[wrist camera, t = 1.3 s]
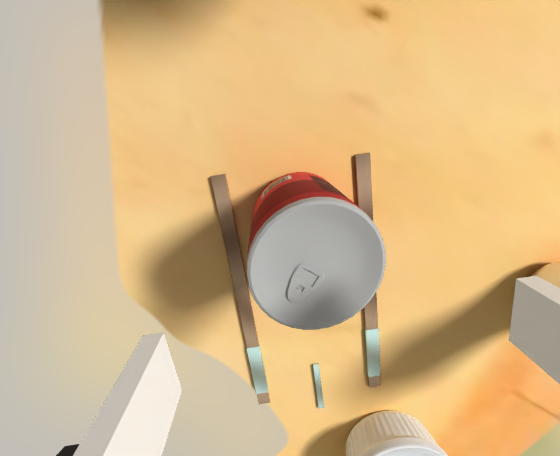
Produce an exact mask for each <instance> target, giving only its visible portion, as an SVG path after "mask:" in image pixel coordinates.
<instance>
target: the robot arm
mask: <svg viewBox="0 0 560 456" xmlns="http://www.w3.org/2000/svg"><path fill="white" fill-rule="evenodd" d="M509 341H510V342H512V343H513V344H514V345H515V346H516V347H517V348H519V349H520V350H521V351H522V352H523V353H524V354H525V355H527V356H528V357H529V358H530V359H531V360H532V361H534V362H535V363H536V364H537V365H538V366H539V367H540V368H542V369H543V370H544V371H545V372H546V373H547V374H549V375H550V376H551V377H552V378H553V379H554V380H555V381H557V382H558V383H559V384H560V288H559V287H557V286H555V285H553V284H551V283H549V282H548V281H546V280H544V279H542V278H540V277H538V276H531V277H524V278H517V279H516V284H515V292H514V301H513V309H512V318H511V326H510V335H509ZM181 392H182V389H181V386H180V382H179V379H178V376H177V373H176V370H175V367H174V363H173V360H172V357H171V354H170V351H169V348H168V345H167V341H166V338H165V335H164V333H157V334H151V335H144V336H143V337H142V338H141V340H140V342H139V343H138V345H137V347H136V349H135V350H134V352H133V354H132V355H131V357H130V359H129V361H128V362H127V364H126V366H125V367H124V369H123V371H122V373H121V374H120V376H119V378H118V380H117V381H116V383H115V385H114V386H113V388H112V390H111V391H110V393H109V395H108V396H107V398H106V400H105V402H104V403H103V405H102V407H101V409H100V410H99V412H98V414H97V415H96V417H95V419H94V420H93V422H92V424H91V426H90V427H89V429H88V431H87V432H86V434H85V436H84V438H83V439H82V441H81V443H80V444H77V445H71V446H65V447H64V448H63V449H62V450H61V451H60V452H59V453H58V454H57V455H56V456H161V455H162V452H163V449H164V446H165V443H166V440H167V436H168V433H169V430H170V426H171V424H172V420H173V417H174V414H175V411H176V408H177V404H178V401H179V398H180V395H181Z"/></svg>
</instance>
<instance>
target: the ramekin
mask: <svg viewBox="0 0 560 456" xmlns="http://www.w3.org/2000/svg"><path fill="white" fill-rule="evenodd" d="M346 456H447V454H446V453H445V451H444V450H443V449H442V448H441V447H439V446H438V444H437V443H436V442H435V440H434V439H433V438H432V436H431V435H430V434H429V432H428V431H427V430H426V428H425V427H424V426H423V424H422V423H421V422H419V421H418V420H417V419H416V418H414V417H413V416H410V415H409V414H406V413H403V412H400V411H393V410H388V411H380V412H376V413H373V414H371V415H368V416H366V417H365V418H363V419H362V420H360V421H359V422H358V423H357V424H356V425H355V426H354V427H353V429H352V430H351V432H350V434H349V436H348V438H347V441H346Z"/></svg>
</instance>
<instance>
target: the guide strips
mask: <svg viewBox="0 0 560 456" xmlns="http://www.w3.org/2000/svg"><path fill="white" fill-rule="evenodd" d="M355 167H356V183H357V200H358V207H359V208H361V210H362V211H364V212H365V213H366V214H367V215H368V216H369V218H370V219H371V220H372V221H373V208H372V185H371V163H370V153H364V154H357V155H355ZM211 181H212V186H213V191H214V195H215V200H216V205H217V209H218V214H219V219H220V223H221V228H222V233H223V238H224V242H225V247H226V252H227V256H228V261H229V266H230V270H231V275H232V280H233V284H234V289H235V294H236V298H237V303H238V308H239V313H240V317H241V322H242V327H243V331H244V336H245V341H246V345H247V353H248V358H249V362H250V367H251V372H252V376H253V381H254V386H255V390H256V394H257V397H258V401H259V404H263V403H270V398H269V393H268V386H267V381H266V376H265V371H264V365H263V360H262V355H261V350H260V345H259V343H258V337H257V332H256V327H255V322H254V317H253V312H252V307H251V302H250V297H249V292H248V287H247V282H246V277H245V272H244V266H243V261H242V256H241V251H240V246H239V241H238V236H237V231H236V226H235V221H234V216H233V211H232V206H231V201H230V195H229V190H228V185H227V180H226V175H225V174H222V175H216V176H211ZM364 316H365V341H366V357H367V374H368V383H369V387H375V386H380V375H381V373H380V350H379V329H378V320H377V298H376V293H375V294H374V296H373V297H372V299H371V300H370V301H369V302H368V303H367V304H366V306H365V307H364ZM313 370H314V377H315V385H316V392H317V400H318V407H319V408H324V403H323V395H322V387H321V379H320V371H319V364H318V363H317V364H313Z"/></svg>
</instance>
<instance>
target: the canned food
mask: <svg viewBox="0 0 560 456" xmlns="http://www.w3.org/2000/svg"><path fill="white" fill-rule="evenodd" d="M385 264H386V255H385V247H384V243H383V239H382V237H381V235H380V233H379V231H378V229H377V227H376V226H375V224H374V223H373V221H372V220H371V219H370V218H369V216H368V215H367V214H366V213H365V212H364V211H362V210H361V208H359V207H358V206H357V205H356V204H354V203H353V202H352V201H351V200H350V199H348V198H347V197H346V196H345V195H343V194H342V193H341V192H340V191H338V190H337V189H336V188H335V187H333V186H332V185H331V184H330V183H328V182H327V181H326V180H325V179H323V178H321V177H319V176H317V175H315V174H311V173H307V172H296V173H290V174H286V175H284V176H281V177H279V178H277V179H276V180H274V181H273V182H271V183H270V184H269V185H268V186H267V187H266V188H265V189H264V190H263V192H262V193H261V194H260V196H259V198H258V200H257V202H256V204H255V208H254V212H253V218H252V225H251V232H250V239H249V246H248V256H247V277H248V283H249V288H250V290H251V293H252V295H253V298H254V300H255V301H256V303H257V304H258V305H259V307H260V308H261V309H262V310H263V311H264V312H265V313H266V314H267V315H268V316H269V317H270V318H272V319H274V320H275V321H277V322H279V323H280V324H283V325H286V326H289V327H291V328H297V329H303V330H316V329H322V328H327V327H331V326H334V325H337V324H339V323H342V322H344V321H345V320H347V319H349V318H351V317H353V316H354V315H355V314H356V313H358V312H359V311H360V310H362V309H363V308H364V307H365V306H366V304H367V303H368V302H369V301H370V300H371V299H372V297H373V296H374V294H375V293H376V291H377V289H378V288H379V285H380V283H381V280H382V278H383V275H384V270H385Z"/></svg>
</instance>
